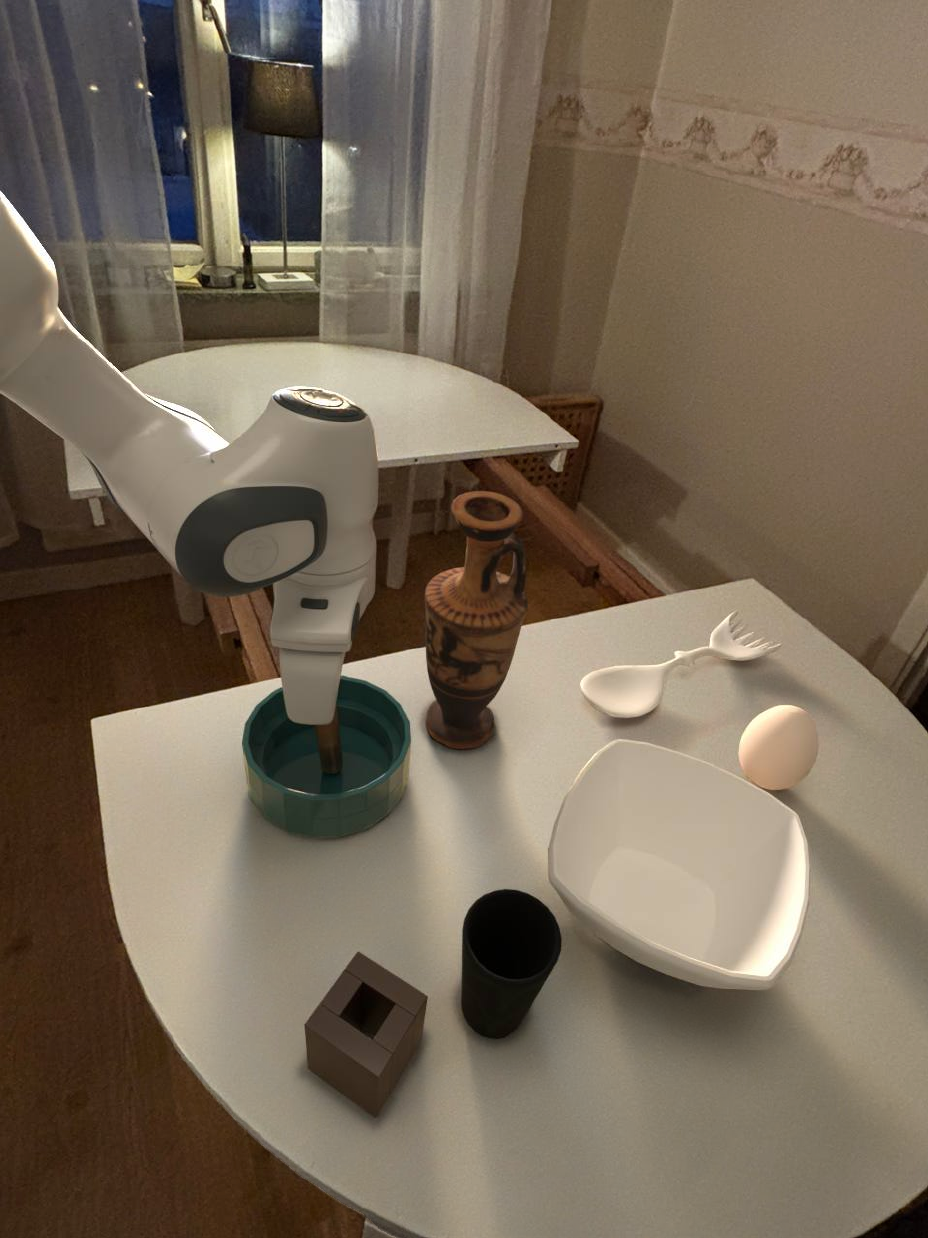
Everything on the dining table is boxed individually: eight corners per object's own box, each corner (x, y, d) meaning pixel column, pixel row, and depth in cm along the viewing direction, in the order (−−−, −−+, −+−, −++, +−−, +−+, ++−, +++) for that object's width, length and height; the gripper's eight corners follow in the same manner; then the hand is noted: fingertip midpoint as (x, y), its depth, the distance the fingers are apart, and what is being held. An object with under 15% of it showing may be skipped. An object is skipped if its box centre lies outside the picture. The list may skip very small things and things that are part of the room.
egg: (767, 818, 83) (806, 750, 76) (713, 769, 88) (745, 701, 81) (809, 790, 87) (850, 723, 80) (755, 744, 92) (789, 678, 85)
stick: (334, 782, 80) (318, 654, 68) (317, 773, 81) (298, 645, 69) (348, 767, 81) (334, 639, 70) (330, 758, 82) (314, 631, 71)
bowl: (743, 1084, 61) (796, 1022, 54) (501, 954, 67) (519, 883, 60) (779, 876, 77) (824, 807, 70) (581, 787, 84) (603, 716, 76)
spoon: (777, 661, 105) (786, 643, 103) (608, 738, 90) (615, 718, 88) (729, 625, 111) (737, 607, 109) (563, 691, 96) (568, 671, 94)
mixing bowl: (345, 871, 72) (344, 828, 68) (213, 791, 78) (205, 747, 74) (435, 759, 85) (440, 717, 80) (316, 698, 90) (315, 655, 86)
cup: (488, 1073, 60) (508, 1006, 52) (431, 996, 64) (442, 924, 56) (555, 1013, 64) (582, 943, 56) (497, 944, 68) (515, 871, 61)
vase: (412, 755, 85) (430, 534, 66) (416, 689, 93) (433, 476, 75) (505, 761, 86) (550, 543, 67) (501, 695, 94) (539, 486, 75)
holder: (375, 1119, 56) (378, 1078, 51) (307, 1068, 59) (303, 1024, 54) (421, 1040, 61) (428, 996, 56) (356, 996, 63) (357, 950, 58)
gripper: (307, 509, 72) (311, 619, 81) (264, 645, 56) (275, 764, 65) (372, 515, 73) (369, 623, 81) (347, 651, 57) (347, 768, 65)
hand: (327, 687), depth 73 cm, fingers closed on stick, 2 cm apart
